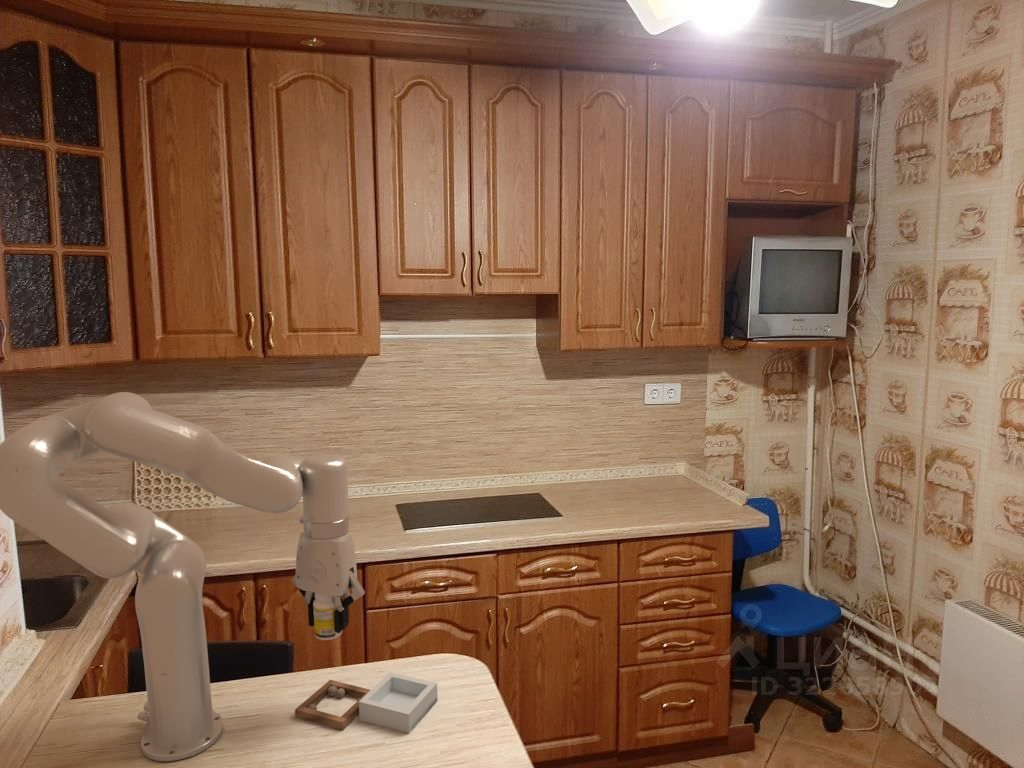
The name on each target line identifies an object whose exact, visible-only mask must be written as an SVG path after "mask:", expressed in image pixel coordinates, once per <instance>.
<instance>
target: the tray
mask: <svg viewBox="0 0 1024 768" xmlns="http://www.w3.org/2000/svg"><path fill="white" fill-rule="evenodd" d="M370 690H371V689H369V688H364V687H361V686H357V685H353V684H349V683H344V682H341V681H338V680H337V681H336V680H334V679H333V680H332V679H329V680H328V681H327V682H326V683H324V685H322V686H321V687H320V688H318V689H317V690H316V691H315V692H314V693H313V694H311V695H310V696H309V697H308V698H306V700H304V701H303V702H302V703H301V704H300V705H298V706H297V707H296V708H295V709H294V713H295V715H294V716H295V718H297V719H300V720H304V721H308V722H311V723H315V724H318V725H321V726H325V727H329V728H333V729H336V730H340V731H344V730H345V729H346V728H347V727H348V726H349V725H350V724H352V723H353V721H354V720H355V719H356V718H357V717H359V701H360V700H361V699H362V698H363V697H364V696H365V695H366V694H367V693H368V692H369V691H370ZM328 694H329V695H328ZM327 695H328V696H330V697H334V696H336V697H337V698H339V699H341V698H344V697H345V696H346V695H348V696H347V697H350V696H352V697H351V698H354V697H355V698H354V699H358V698H359V699H358V700H357V701H356V702H355V703H354V704H352V706H350V707H349V709H347V710H346V712H344V713H343V714H342V715H341V716H339V715H335V714H332V713H328V712H325V711H322V710H317V709H318V707H317V705H319V704H320V703H321V702H322V701H323V700H324V699H326V698H327V697H328V696H327ZM326 696H327V697H326ZM322 699H323V700H322ZM321 700H322V701H321ZM320 701H321V702H320ZM319 702H320V703H319ZM318 703H319V704H318Z"/></svg>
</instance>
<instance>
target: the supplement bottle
mask: <svg viewBox="0 0 1024 768" xmlns="http://www.w3.org/2000/svg"><path fill="white" fill-rule="evenodd" d="M335 610H337V607H336V603H335V599H334V597H331V596H327V595H322V594H317V593H315V600H314V602H313V611H314V626H313V628H314V637H316V639H317V640H320V641H331V640H334V639H337V638H338V637H340V636H341V635H342V633H343V630H342V631H340V632H339V633H337V632H335V630H334V611H335Z"/></svg>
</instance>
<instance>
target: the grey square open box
mask: <svg viewBox="0 0 1024 768" xmlns="http://www.w3.org/2000/svg"><path fill="white" fill-rule="evenodd" d="M438 699H439V697H438V683H437V682H433V681H430V680H425V679H420V678H417V677H412V676H408V675H405V674H404V675H403V674H400V673H395V672H392V671H389V672H387V674H386V675H385V676H384V677H383V678H382V679H381V680H379V682H378V683H377V684H376V685H374V687H372V689H370V691H369V692H368V693H367V694H366V695H365V696H364V697H363V698H362V699H361V700H360V701H359V715H358V717H359V721H362V722H365V723H369V724H373V725H377V726H381V727H385V728H388V729H392V730H396V731H398V732H403V733H407V734H410V733H411V732H413V730H414V729H415V728H416V727H417V725H418V724H419V723H420V722H421V721H422V720H423V718H424V717H425V716H426V715H427V714H428V713H429V711H431V709H432V708H433V707H434V706H435V705H436V704H437V702H438Z"/></svg>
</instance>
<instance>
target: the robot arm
mask: <svg viewBox="0 0 1024 768" xmlns="http://www.w3.org/2000/svg"><path fill="white" fill-rule="evenodd" d="M101 452H103V453H107V454H109V455H113V456H114V457H115V456H116V457H119V458H122V459H124V460H128V461H131V462H133V463H134V462H135V463H137V464H141V465H144V466H146V467H150V468H153V469H157V470H159V471H162V472H165V473H169V474H172V475H175V476H178V477H180V478H183V479H184V480H186V481H188V482H189V483H191V484H193V485H194V486H196V487H199V488H200V489H202V490H204V491H206V492H208V493H209V494H212V495H214V496H216V497H218V498H221V499H223V500H226V501H228V502H230V503H233V504H236V505H240V506H241V507H246V508H249V509H253V510H254V511H259V512H261V513H265V514H273V515H275V514H284V513H287V512H288V511H291V510H292V509H293V508H295V507H296V506H297V504H299V503H300V500H301V499H302V508H303V509H302V510H303V512H302V513H303V515H302V516H300V518H299V523H300V524H302V525H303V531H302V532H300V534H299V538H298V539H299V540H298V541H297V542H298V543H297V547H296V555H295V575H294V576H293V577H292V578H291V582H292V584H294V586H295V587H296V588H297V589H298V590H299V591H298V592H299V593H300V594H301V595H302V596H303V599H304V600H303V601H304V603H305V604H306V605H307V617H308V618H307V619H308V626H309V627H314V611H313V602H314V600H315V593H317V594H322V595H327V596H331V597H334V599H335V603H336V607H337V610H335V611H334V630H335V632H337V633H339V632H340V631H342V632H343V631H344V630H345V629H346V628H347V627H348V626H349V624H350V606H351V605H352V604H353V603H354V602H356V601H357V600H358V599H359V598H361V597H362V596H364V595H365V594H366V591H365V589H364V588H363V586H362V585H361V583H360V581H359V580H358V571H357V570H358V569H357V568H358V567H357V558H356V548H355V544H354V540H353V535H352V533H350V532H349V531H350V530H349V529H350V526H349V525H350V524H349V522H350V521H349V520H350V519H349V483H348V482H349V476H348V475H349V473H348V472H349V471H348V463H347V460H346V458H344V457H343V456H341V455H338V454H331V453H329V454H328V453H322V454H317V455H315V454H314V455H312V456H311V455H310V456H303V455H293V454H272V455H270V456H268V457H267V456H266V457H265V458H264V459H262V461H259V460H257V459H253V458H250V457H249V456H246V455H244V454H241V453H239V452H237V451H235V450H234V449H232V448H231V447H229V446H227V445H225V444H224V443H223V442H222V441H221V440H220V439H219V438H218V437H216V435H215V434H213V432H212V431H210V430H209V429H208V428H205V427H204V426H201V425H198V424H196V423H193V422H190V421H186V420H184V419H181V418H178V417H175V416H173V415H170V414H167V413H164V412H161V411H158V410H155V409H153V408H152V406H151V405H150V403H149V401H147V400H146V399H145V398H144V397H142V396H141V395H139V394H136V393H133V392H128V391H120V392H114V393H112V394H109V395H106V396H103V397H100V398H98V399H95V400H92V401H89V402H86V403H83V404H80V405H77V406H73V407H71V408H67V409H64V410H61V411H58V412H55V413H51V414H49V415H47V416H43V417H41V418H38V419H35V420H34V421H32V422H30V423H28V424H27V425H25V426H24V427H21V428H20V429H18V430H16V431H14V432H13V433H12V434H10V435H9V436H7V438H5V439H4V440H3V441H2V442H1V443H0V511H1V512H2V513H3V514H4V515H5V516H6V517H8V518H9V519H11V520H12V521H13V522H14V523H16V524H18V525H20V526H21V527H23V528H24V529H26V530H27V531H29V532H31V533H33V534H34V535H36V536H37V537H39V538H40V539H42V540H44V541H45V542H46V543H48V544H49V545H50V546H52V547H53V548H55V549H56V550H57V551H59V552H61V553H63V554H64V555H65V556H67V557H69V558H70V559H72V560H73V561H75V562H76V563H78V564H79V565H81V566H82V567H83V568H85V569H87V570H88V571H90V572H91V573H93V574H94V575H96V576H99V577H100V578H104V579H110V580H111V579H112V580H113V579H121V578H124V577H126V576H127V575H129V574H130V573H132V572H133V571H134V572H137V573H138V574H139V575H140V577H139V579H138V582H137V584H136V589H135V595H134V606H135V612H136V613H135V614H136V617H137V621H138V627H139V633H140V639H141V649H142V657H143V665H144V666H143V667H144V678H145V687H146V688H145V689H146V698H147V699H146V700H147V701H146V702H144V705H143V710H142V711H139V713H138V714H137V719H138V720H140V721H142V722H146V731H145V732H144V733H143V735H142V737H141V740H140V747H141V749H140V750H141V752H142V753H143V755H144V756H145V757H146V758H148V759H150V760H153V761H157V762H158V761H159V762H173V761H179V760H184V759H187V758H189V757H190V758H191V757H193V756H196V755H197V754H200V753H201V752H203V751H206V750H207V749H208V748H210V747H211V746H213V744H215V743H216V742H217V741H218V740H219V738H220V737H221V735H222V733H223V731H224V720H223V717H222V716H221V714H219V713H218V712H216V711H214V710H213V705H212V704H213V703H212V691H211V677H210V665H209V654H208V643H207V632H206V630H207V629H206V623H205V622H206V620H205V615H204V608H203V607H204V606H203V585H204V582H205V581H204V580H205V574H206V571H207V570H206V569H207V561H206V555H205V552H203V550H202V548H201V547H200V545H198V544H197V542H195V541H194V540H192V539H191V538H189V537H188V536H187V535H185V534H184V533H182V532H181V531H179V530H178V529H177V528H175V527H174V526H172V525H171V524H169V522H167V521H165V520H164V519H162V518H161V517H160V516H159V515H157V514H155V513H154V512H153V511H151V510H149V509H147V508H145V507H143V506H140V505H138V504H135V503H128V502H121V503H116V504H111V505H109V506H108V507H105V506H104V505H102V504H101V503H99V502H98V501H96V500H94V498H92V497H91V496H89V495H88V494H87V493H85V492H84V491H81V490H79V489H77V488H76V487H73V486H71V485H68V484H67V483H65V482H63V481H62V480H61V479H60V473H61V472H62V471H63V470H64V469H65V468H66V467H67V466H69V464H72V463H74V462H76V461H79V460H82V459H85V458H88V457H90V456H93V455H97V454H99V453H101ZM350 590H351V591H352V592H351V593H350Z"/></svg>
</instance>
